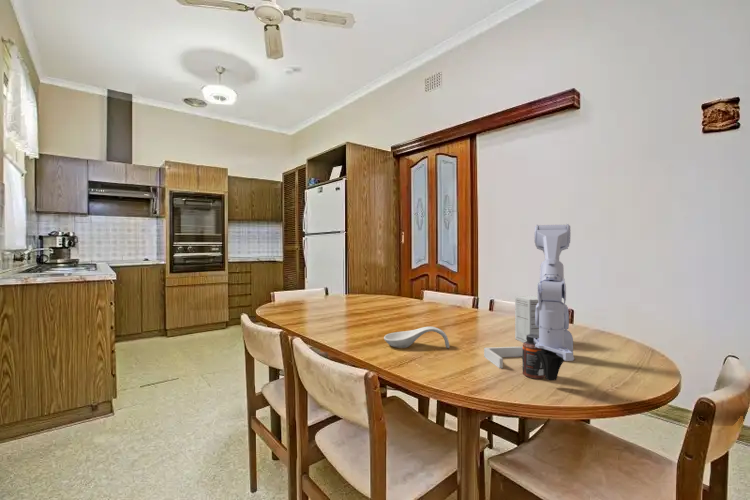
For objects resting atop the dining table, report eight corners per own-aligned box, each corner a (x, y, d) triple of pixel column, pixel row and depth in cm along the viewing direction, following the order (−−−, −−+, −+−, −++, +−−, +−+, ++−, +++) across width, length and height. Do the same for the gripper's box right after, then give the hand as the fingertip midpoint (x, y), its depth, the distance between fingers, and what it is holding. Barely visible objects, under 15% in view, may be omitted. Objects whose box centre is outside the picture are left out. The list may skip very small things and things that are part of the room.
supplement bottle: (548, 380, 95) (548, 339, 95) (524, 378, 96) (525, 337, 96) (542, 372, 101) (542, 333, 101) (520, 371, 102) (520, 332, 102)
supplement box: (552, 344, 130) (552, 299, 130) (529, 345, 128) (530, 299, 128) (535, 337, 139) (535, 295, 139) (514, 339, 137) (514, 296, 137)
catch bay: (524, 355, 117) (524, 346, 117) (543, 366, 106) (543, 356, 106) (484, 356, 115) (484, 347, 115) (499, 368, 104) (499, 358, 104)
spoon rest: (382, 350, 124) (382, 330, 124) (385, 341, 135) (385, 322, 135) (450, 352, 121) (450, 331, 121) (447, 342, 133) (447, 324, 133)
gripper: (521, 321, 97) (521, 370, 98) (554, 334, 83) (553, 391, 83) (545, 321, 98) (545, 369, 98) (581, 334, 84) (581, 390, 84)
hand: (550, 379), depth 91 cm, fingers closed
